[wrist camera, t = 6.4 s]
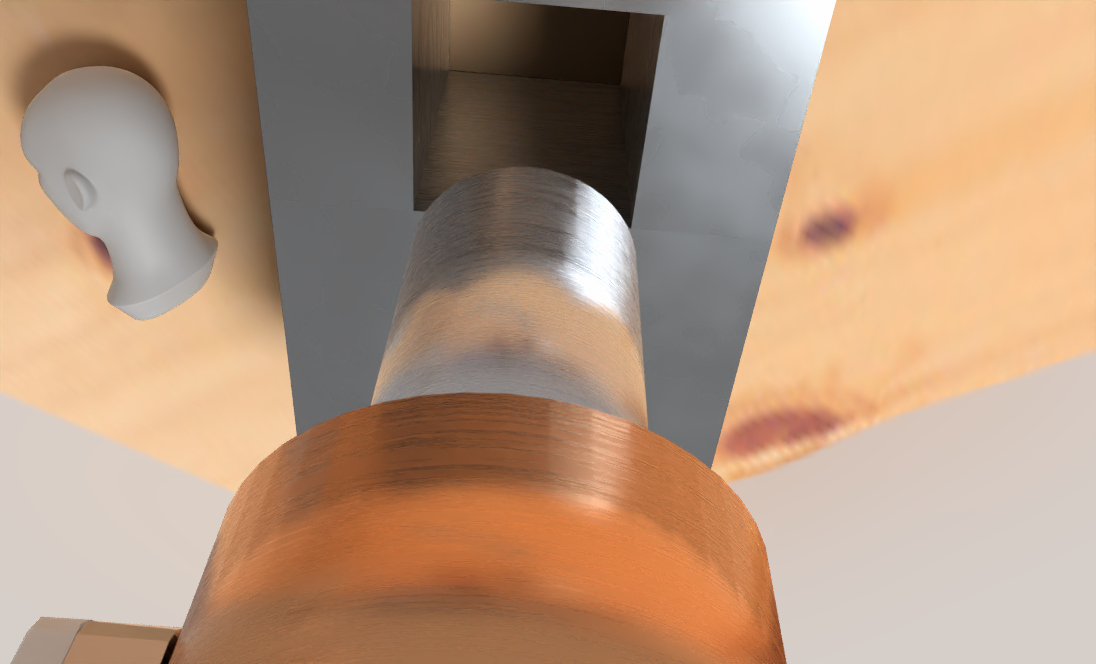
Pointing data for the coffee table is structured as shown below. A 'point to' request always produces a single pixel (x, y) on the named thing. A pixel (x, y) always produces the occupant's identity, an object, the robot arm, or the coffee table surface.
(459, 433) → the pin
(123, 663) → the robot arm
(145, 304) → the mannequin head
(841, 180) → the coffee table surface
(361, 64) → the block
